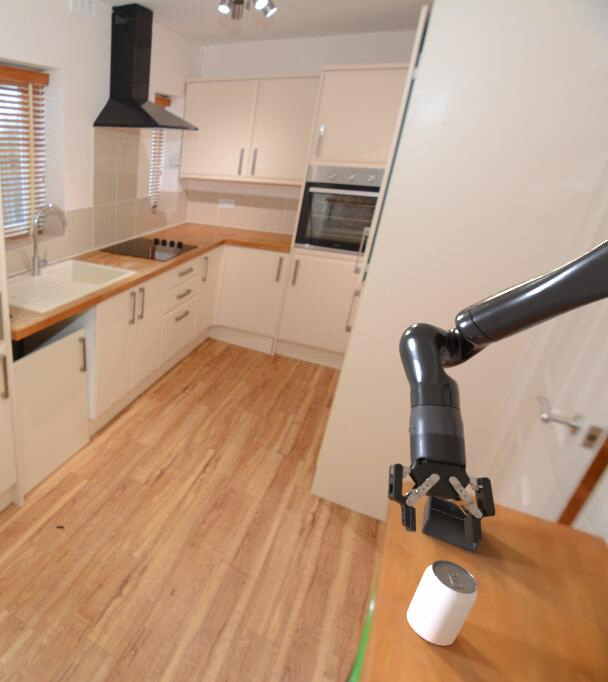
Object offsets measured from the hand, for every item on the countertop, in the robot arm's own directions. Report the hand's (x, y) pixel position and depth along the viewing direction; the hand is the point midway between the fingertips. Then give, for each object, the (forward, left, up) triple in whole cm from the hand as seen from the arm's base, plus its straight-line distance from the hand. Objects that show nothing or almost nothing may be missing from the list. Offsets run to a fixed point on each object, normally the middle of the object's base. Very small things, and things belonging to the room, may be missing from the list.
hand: (441, 537), depth 73 cm
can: (-2, +6, -14) cm, 15 cm away
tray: (-4, -21, -13) cm, 25 cm away
